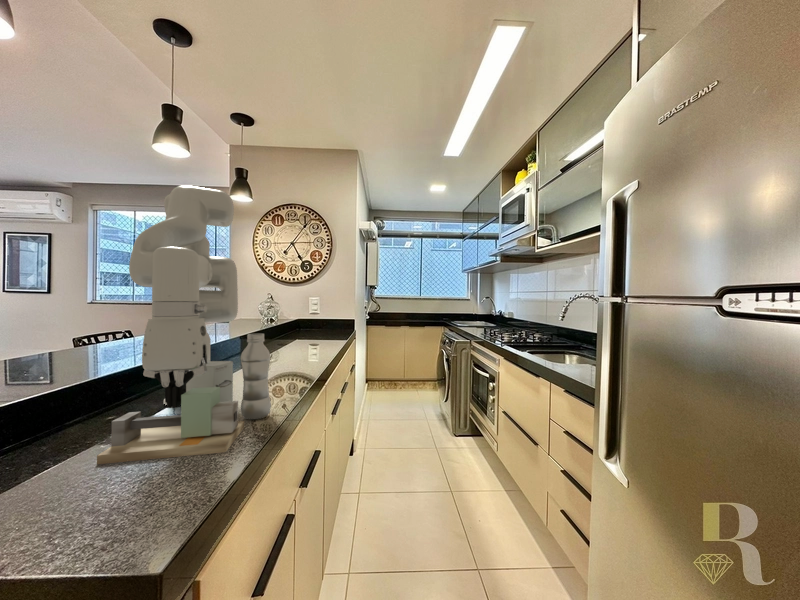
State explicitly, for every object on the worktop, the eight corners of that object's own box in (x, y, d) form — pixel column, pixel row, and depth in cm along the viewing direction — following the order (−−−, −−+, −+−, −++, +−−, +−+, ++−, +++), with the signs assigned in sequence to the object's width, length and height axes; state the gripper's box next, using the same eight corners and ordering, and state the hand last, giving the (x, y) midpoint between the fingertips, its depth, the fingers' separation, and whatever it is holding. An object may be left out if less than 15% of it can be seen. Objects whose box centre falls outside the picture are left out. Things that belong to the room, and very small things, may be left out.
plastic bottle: (260, 423, 71) (260, 335, 72) (233, 421, 73) (234, 335, 73) (276, 414, 78) (276, 333, 78) (252, 412, 79) (252, 332, 79)
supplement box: (213, 419, 74) (213, 365, 75) (185, 418, 75) (185, 365, 76) (233, 409, 82) (233, 360, 82) (207, 408, 83) (207, 360, 83)
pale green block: (192, 427, 64) (193, 388, 64) (219, 425, 65) (219, 386, 65) (181, 437, 59) (181, 394, 59) (210, 435, 60) (210, 393, 60)
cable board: (139, 436, 65) (140, 401, 65) (244, 427, 69) (244, 395, 69) (96, 464, 53) (97, 422, 53) (225, 452, 57) (225, 413, 57)
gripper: (224, 310, 66) (224, 398, 66) (144, 311, 64) (144, 402, 63) (210, 311, 59) (209, 409, 59) (119, 312, 56) (118, 415, 56)
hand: (175, 405), depth 61 cm, fingers closed
